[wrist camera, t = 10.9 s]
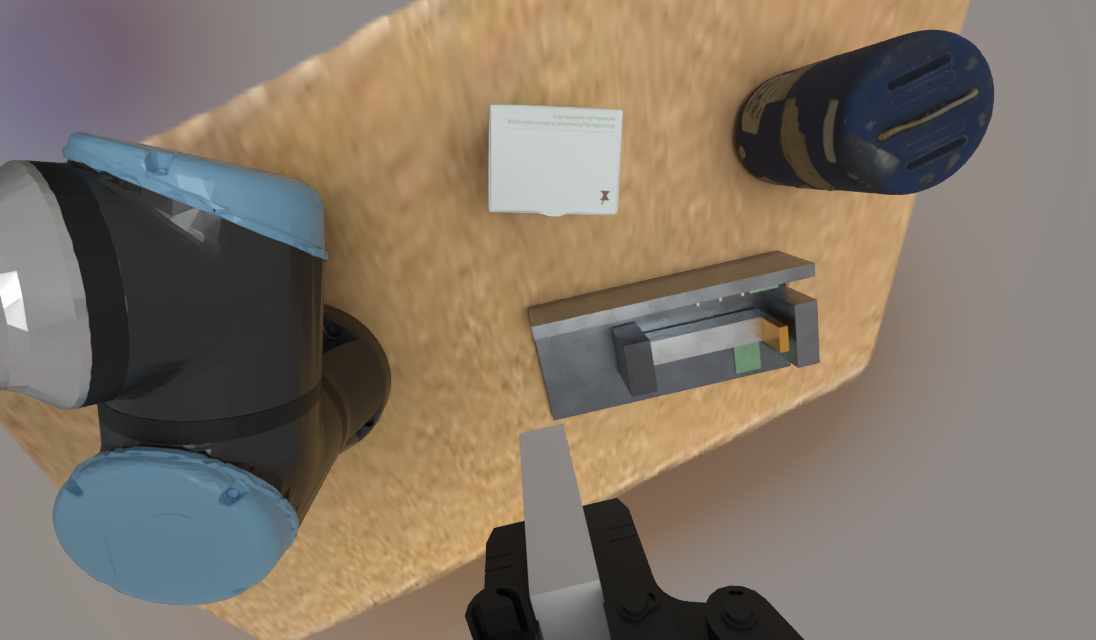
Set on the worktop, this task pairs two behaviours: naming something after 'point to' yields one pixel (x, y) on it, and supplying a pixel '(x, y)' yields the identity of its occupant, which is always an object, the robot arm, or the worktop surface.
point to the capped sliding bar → (690, 343)
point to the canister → (871, 117)
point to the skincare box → (554, 160)
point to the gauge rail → (587, 320)
